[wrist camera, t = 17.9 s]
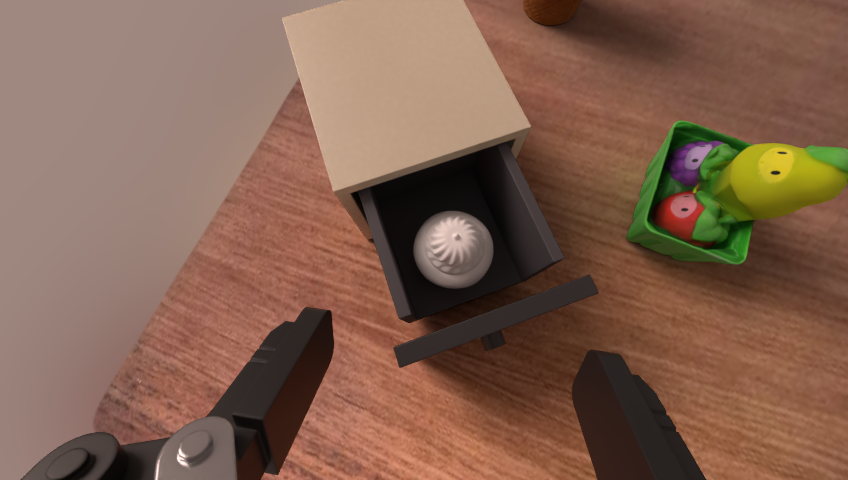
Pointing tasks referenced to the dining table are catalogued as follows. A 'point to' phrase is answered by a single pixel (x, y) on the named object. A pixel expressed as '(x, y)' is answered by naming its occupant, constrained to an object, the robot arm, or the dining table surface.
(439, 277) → the muffin
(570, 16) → the disposable coffee cup
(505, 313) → the pulled-out nightstand drawer
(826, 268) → the dining table surface
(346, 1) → the cabinet
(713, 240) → the fruit basket
